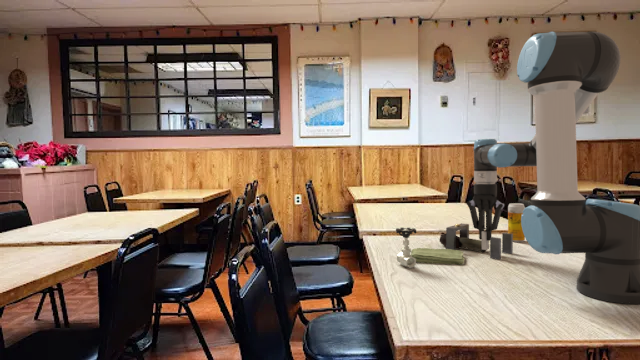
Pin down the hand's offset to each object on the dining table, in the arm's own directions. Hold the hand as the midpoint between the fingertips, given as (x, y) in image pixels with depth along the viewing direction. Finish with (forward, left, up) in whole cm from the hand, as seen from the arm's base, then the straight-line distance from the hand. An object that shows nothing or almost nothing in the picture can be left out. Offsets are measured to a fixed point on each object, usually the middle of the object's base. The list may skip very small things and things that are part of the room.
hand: (485, 249), depth 144 cm
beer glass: (+28, -1, -2) cm, 28 cm away
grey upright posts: (0, +2, -1) cm, 3 cm away
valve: (-33, +11, -2) cm, 35 cm away
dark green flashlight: (+1, +10, -2) cm, 10 cm away
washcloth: (-19, +9, -2) cm, 21 cm away
